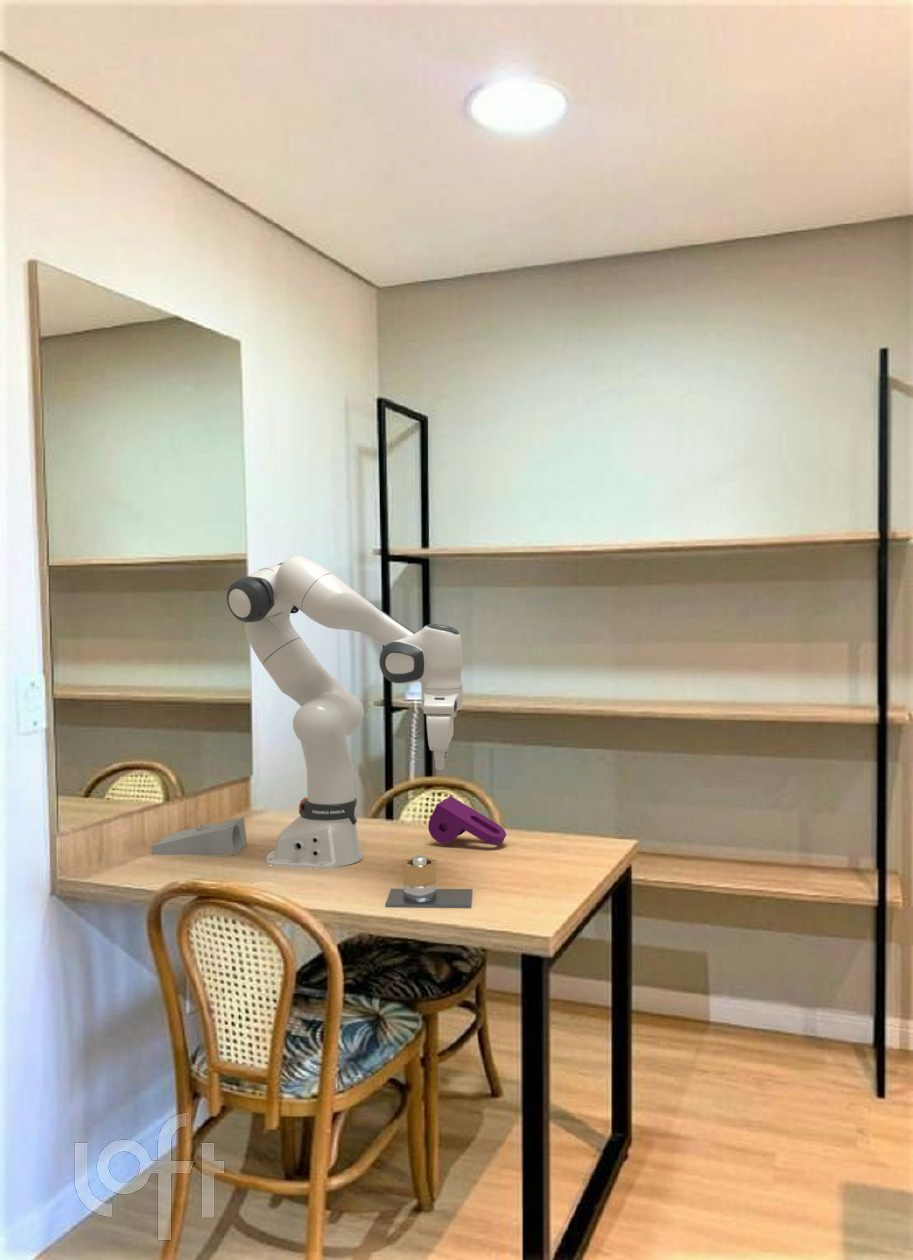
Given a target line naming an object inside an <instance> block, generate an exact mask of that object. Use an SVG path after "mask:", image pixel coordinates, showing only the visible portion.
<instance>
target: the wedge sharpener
mask: <svg viewBox="0 0 913 1260" xmlns="http://www.w3.org/2000/svg"><path fill="white" fill-rule="evenodd" d="M245 824H246V823H245V817H244V816H241V817H237V818H233V819H228V820H224V821H220V822H217V823H213V824H210V825H209V824H206V823H205V824H202V825H199V826H197V827H195V828H190V829H185V830H180V831H176V832H171V833H169V834H167V835H166V836H165V837H164V838H162V839H161V840H159V842H157V843H154V844H153V845H152V846H151V848H152V855H153V856H154V855H156V856H160V855H161V856H176V855H177V856H179V855H199V856H200V855H201V856H212V855H221V856H220V857H226V856H225V855H234V854H235V855H237V854H238V853H239V852H240V851H242V849H244V848H245V847H246V846H247V845H248V842H247V841H248V840H247V833H246V832H247V831H246V825H245ZM239 850H240V851H239ZM238 851H239V852H238ZM237 852H238V853H237ZM236 853H237V854H236ZM235 855H234V856H235Z"/></svg>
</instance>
